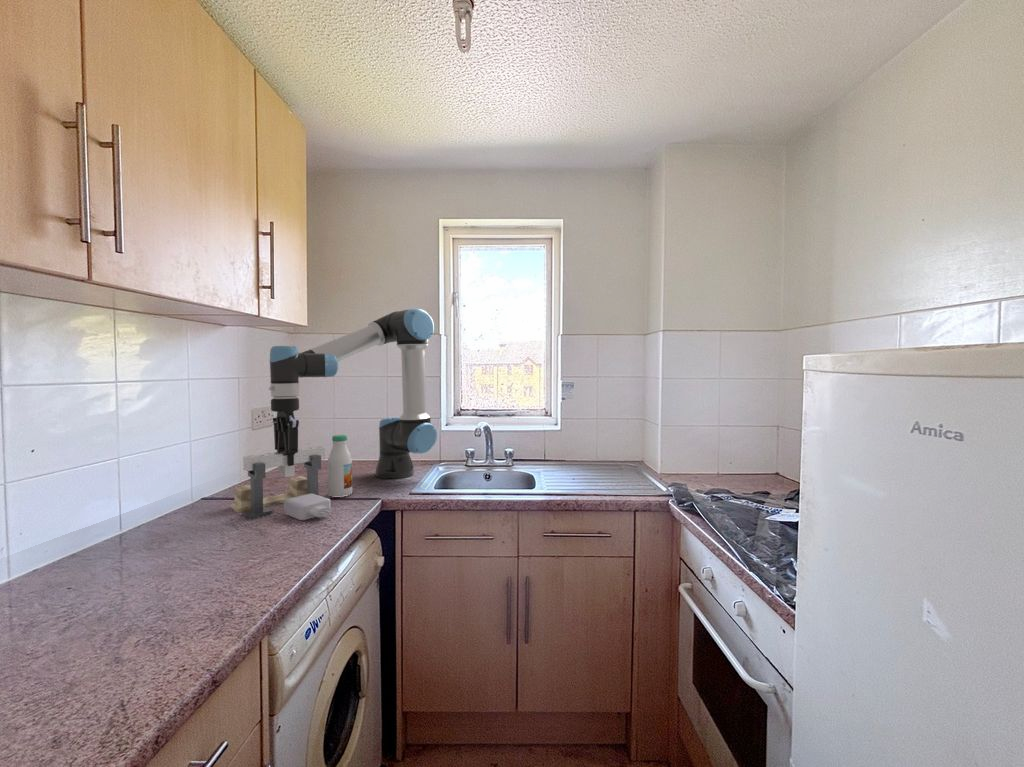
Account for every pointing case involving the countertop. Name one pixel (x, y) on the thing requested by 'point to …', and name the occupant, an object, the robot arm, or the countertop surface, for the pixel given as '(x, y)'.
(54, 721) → the countertop surface
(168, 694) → the countertop surface
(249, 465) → the rail
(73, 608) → the countertop surface
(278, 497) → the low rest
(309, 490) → the hook standards
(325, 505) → the charger
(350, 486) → the milk bottle
